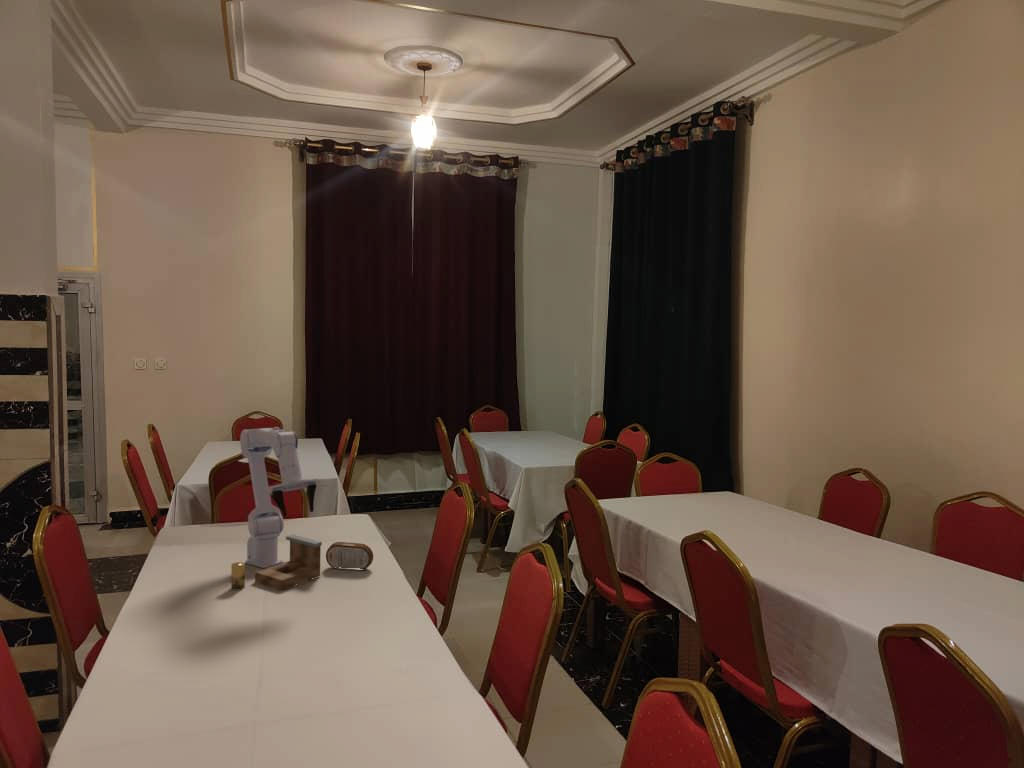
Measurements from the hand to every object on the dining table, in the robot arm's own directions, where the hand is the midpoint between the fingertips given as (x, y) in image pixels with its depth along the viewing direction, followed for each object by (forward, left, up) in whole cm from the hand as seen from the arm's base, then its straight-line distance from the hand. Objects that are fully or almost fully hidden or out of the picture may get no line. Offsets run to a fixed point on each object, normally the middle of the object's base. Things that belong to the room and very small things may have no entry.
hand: (298, 513), depth 204 cm
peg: (-15, -9, -23) cm, 29 cm away
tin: (-1, +22, -23) cm, 32 cm away
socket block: (-9, +4, -23) cm, 25 cm away
